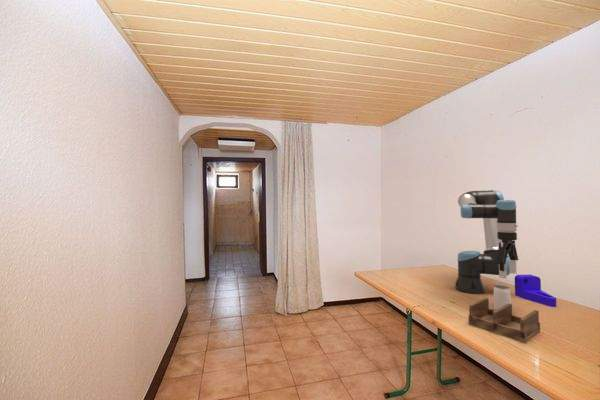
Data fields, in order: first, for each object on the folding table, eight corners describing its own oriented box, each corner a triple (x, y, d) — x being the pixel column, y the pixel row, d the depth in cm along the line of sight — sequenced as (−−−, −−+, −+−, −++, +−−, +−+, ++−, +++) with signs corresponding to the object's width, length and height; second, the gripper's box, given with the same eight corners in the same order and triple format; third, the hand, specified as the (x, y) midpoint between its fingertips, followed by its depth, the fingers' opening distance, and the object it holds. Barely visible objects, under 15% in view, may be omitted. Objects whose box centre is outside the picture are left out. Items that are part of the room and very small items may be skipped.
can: (513, 314, 126) (513, 289, 127) (498, 314, 128) (497, 288, 128) (506, 309, 133) (505, 285, 133) (491, 308, 134) (490, 284, 134)
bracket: (515, 295, 153) (514, 274, 154) (533, 295, 154) (533, 274, 154) (544, 307, 135) (543, 283, 136) (565, 307, 136) (564, 283, 136)
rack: (468, 323, 118) (468, 304, 118) (485, 315, 127) (484, 297, 127) (526, 342, 101) (525, 320, 101) (540, 331, 110) (539, 311, 110)
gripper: (506, 233, 121) (508, 281, 120) (524, 230, 135) (526, 273, 135) (487, 232, 127) (488, 278, 126) (506, 229, 141) (508, 270, 141)
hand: (508, 275), depth 130 cm, fingers open, 13 cm apart
